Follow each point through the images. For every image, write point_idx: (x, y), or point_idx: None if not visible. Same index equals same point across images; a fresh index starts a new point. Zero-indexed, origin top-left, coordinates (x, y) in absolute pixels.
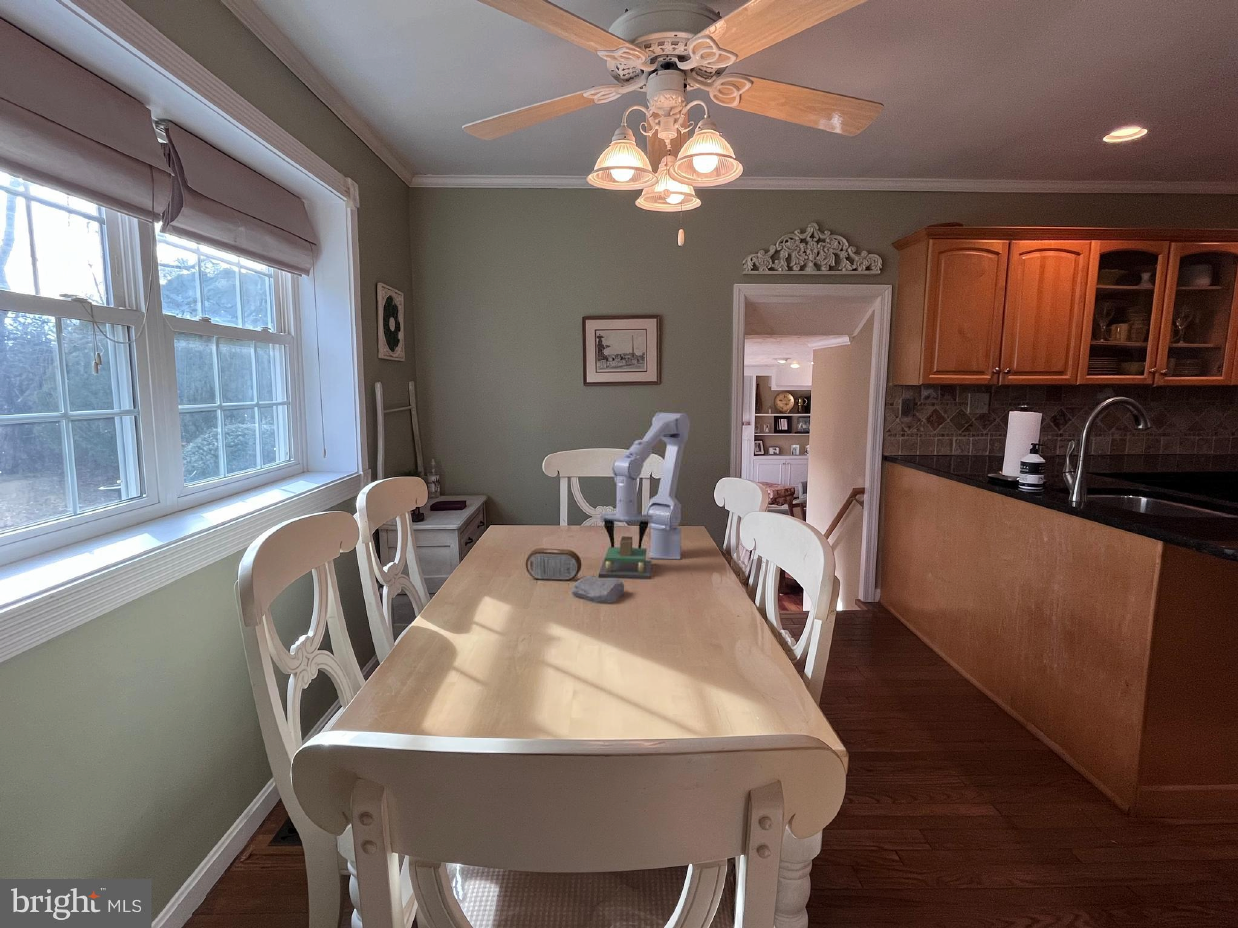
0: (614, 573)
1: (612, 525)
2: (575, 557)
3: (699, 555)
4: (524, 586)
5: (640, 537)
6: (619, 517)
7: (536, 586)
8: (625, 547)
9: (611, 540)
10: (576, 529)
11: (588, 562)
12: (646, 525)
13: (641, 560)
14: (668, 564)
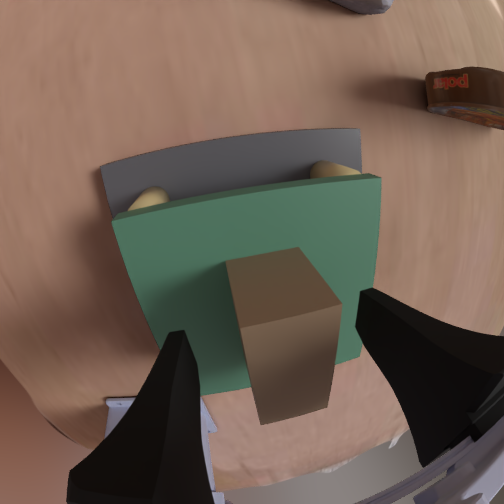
0: (290, 146)
1: (484, 389)
2: (489, 72)
3: (85, 421)
4: (487, 54)
5: (158, 394)
6: (488, 500)
7: (473, 48)
8: (279, 285)
9: (402, 309)
10: (383, 437)
11: (392, 295)
12: (69, 501)
13: (135, 212)
14: (112, 360)
